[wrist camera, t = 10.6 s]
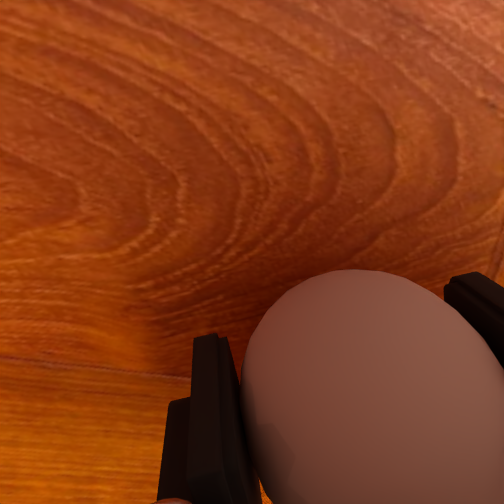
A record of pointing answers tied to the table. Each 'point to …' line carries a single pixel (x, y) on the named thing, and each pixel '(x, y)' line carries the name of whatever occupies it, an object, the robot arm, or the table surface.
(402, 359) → the egg
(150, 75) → the table surface
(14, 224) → the table surface
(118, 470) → the table surface
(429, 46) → the table surface
